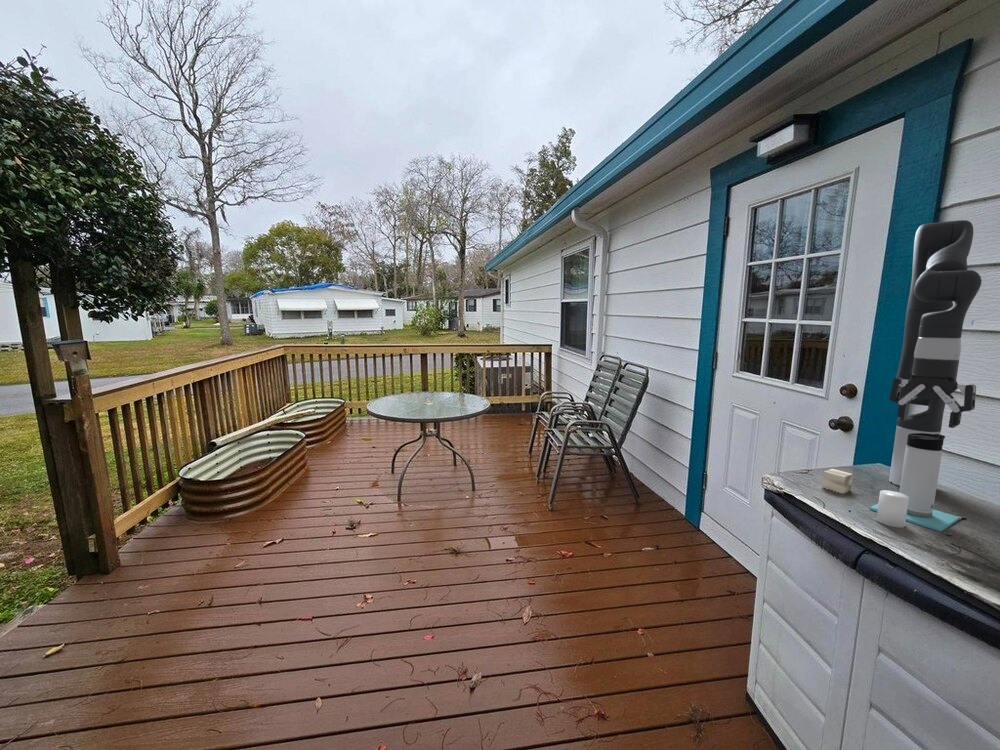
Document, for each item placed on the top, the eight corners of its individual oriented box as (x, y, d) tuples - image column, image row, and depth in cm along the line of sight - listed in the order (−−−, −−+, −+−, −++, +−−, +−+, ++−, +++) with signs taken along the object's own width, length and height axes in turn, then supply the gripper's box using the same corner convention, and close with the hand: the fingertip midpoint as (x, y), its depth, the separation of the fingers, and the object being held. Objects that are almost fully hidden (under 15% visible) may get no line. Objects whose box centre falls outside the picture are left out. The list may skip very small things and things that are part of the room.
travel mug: (941, 519, 101) (953, 438, 98) (908, 516, 102) (920, 436, 99) (920, 508, 107) (932, 431, 104) (890, 505, 108) (901, 429, 105)
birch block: (830, 485, 123) (832, 468, 123) (850, 491, 119) (852, 474, 119) (821, 488, 121) (823, 471, 120) (842, 494, 117) (844, 477, 116)
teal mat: (890, 499, 113) (890, 497, 113) (959, 519, 102) (959, 517, 102) (869, 509, 107) (869, 507, 107) (941, 531, 96) (941, 529, 96)
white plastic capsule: (881, 516, 103) (884, 488, 102) (908, 524, 99) (912, 496, 98) (872, 520, 101) (876, 492, 100) (900, 529, 96) (904, 500, 96)
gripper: (985, 358, 95) (974, 428, 97) (902, 354, 107) (894, 416, 110) (975, 360, 91) (964, 432, 94) (890, 355, 104) (882, 419, 106)
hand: (926, 423), depth 102 cm, fingers open, 8 cm apart
